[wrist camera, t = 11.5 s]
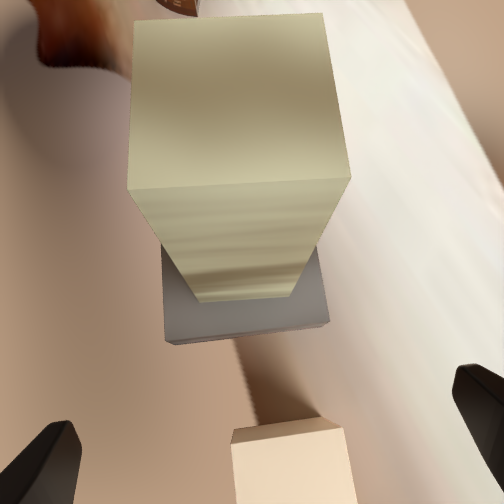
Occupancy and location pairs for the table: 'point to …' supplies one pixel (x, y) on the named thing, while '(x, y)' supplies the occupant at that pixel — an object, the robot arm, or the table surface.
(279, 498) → the ivory cube
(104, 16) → the table surface
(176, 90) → the sage block
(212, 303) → the slate slab
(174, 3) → the food container
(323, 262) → the table surface
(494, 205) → the table surface
